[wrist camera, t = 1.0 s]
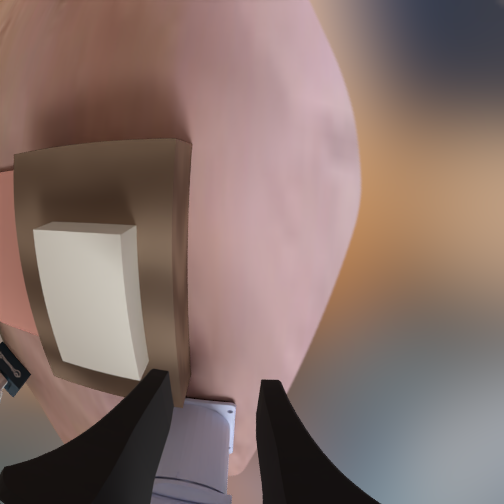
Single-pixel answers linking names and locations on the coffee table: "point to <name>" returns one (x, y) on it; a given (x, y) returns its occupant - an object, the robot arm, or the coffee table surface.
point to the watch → (11, 372)
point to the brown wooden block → (123, 213)
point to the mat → (12, 264)
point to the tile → (93, 295)
